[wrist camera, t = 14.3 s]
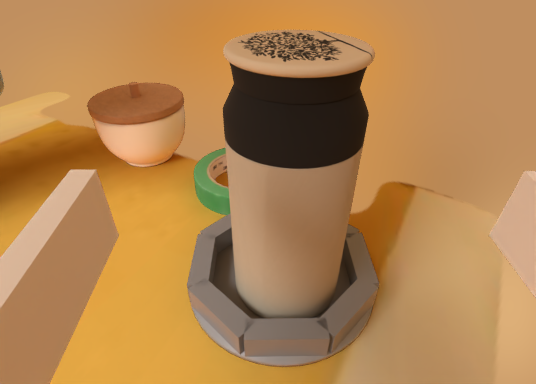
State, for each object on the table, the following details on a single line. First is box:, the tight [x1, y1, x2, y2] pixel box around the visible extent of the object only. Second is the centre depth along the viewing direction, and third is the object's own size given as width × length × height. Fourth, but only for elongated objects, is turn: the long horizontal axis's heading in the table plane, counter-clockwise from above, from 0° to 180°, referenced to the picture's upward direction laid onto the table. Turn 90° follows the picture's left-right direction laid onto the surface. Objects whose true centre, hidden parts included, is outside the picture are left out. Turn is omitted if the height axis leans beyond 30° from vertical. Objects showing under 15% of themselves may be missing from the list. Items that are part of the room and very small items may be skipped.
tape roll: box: [194, 148, 230, 215], centre depth 39 cm, size 11×11×3 cm
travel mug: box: [223, 30, 375, 319], centre depth 23 cm, size 8×8×18 cm
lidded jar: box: [87, 82, 185, 167], centre depth 42 cm, size 11×11×9 cm
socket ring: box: [187, 213, 379, 367], centre depth 28 cm, size 15×15×2 cm
